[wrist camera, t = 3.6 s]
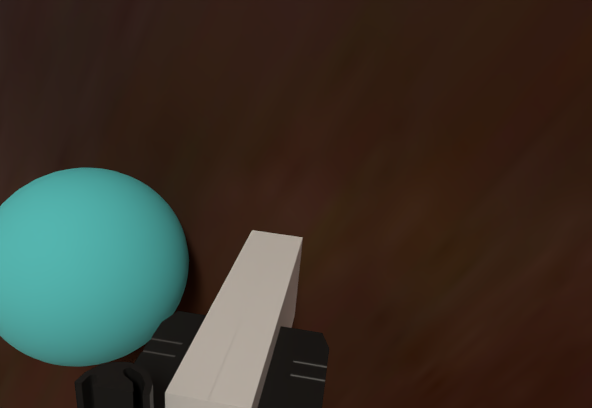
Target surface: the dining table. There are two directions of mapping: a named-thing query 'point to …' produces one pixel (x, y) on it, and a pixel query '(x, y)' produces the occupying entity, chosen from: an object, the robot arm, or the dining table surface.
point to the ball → (88, 266)
